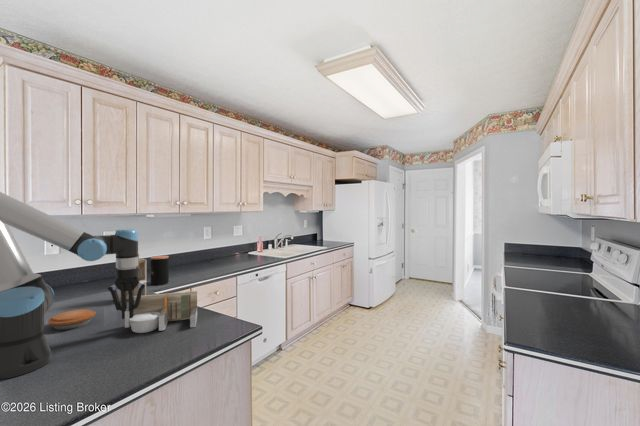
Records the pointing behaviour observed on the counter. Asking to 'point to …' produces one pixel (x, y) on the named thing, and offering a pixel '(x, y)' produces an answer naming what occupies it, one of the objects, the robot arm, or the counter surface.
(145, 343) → the counter surface
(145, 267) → the staircase
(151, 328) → the ramekin
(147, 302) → the scale board
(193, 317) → the white striped block
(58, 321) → the pie
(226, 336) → the counter surface
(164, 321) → the gauge sled
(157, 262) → the coffee jar
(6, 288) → the robot arm
